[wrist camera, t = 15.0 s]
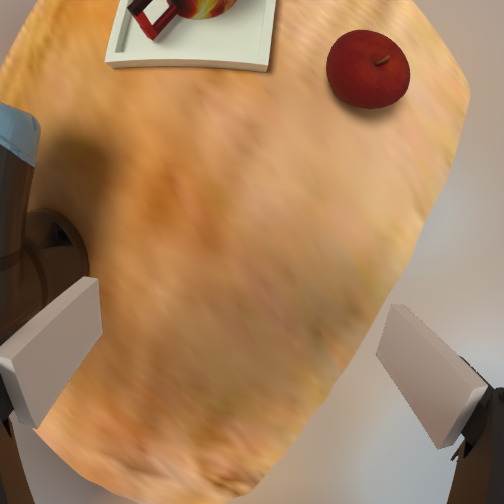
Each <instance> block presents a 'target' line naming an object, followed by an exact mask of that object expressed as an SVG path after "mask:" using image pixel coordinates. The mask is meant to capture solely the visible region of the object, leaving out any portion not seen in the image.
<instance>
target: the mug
mask: <svg viewBox="0 0 504 504" xmlns="http://www.w3.org/2000/svg"><path fill="white" fill-rule="evenodd" d="M152 1H153V0H134V1H133V2H132V3H131V4H130V5H129V6H128V7H127V9H128V10H129V12H130V13H131V14H132V16H133V17H134V18H135V20H136V21H137V23H138V24H139V25H140V26H139V27H140V28H141V29H142V31H143V32H144V33H145V35H146V36H147V38H149V39H151V40H152V41H153V40H154V39H155V38H156V37H157V36H158V35H159V34H160V32H161V31H162V30H163V29H164V28H165V27H166V26H167V25H168V24H169V22H170V21H171V20H172V19H173V18H174V17H175V16H176V15H179V16H181V17H184V18H187V19H193V20H201V19H209V18H212V17H216V16H218V15H220V14H223V13H224V12H226V11H227V10H229V9H230V8H231V7H232V6H233V5H234V4H235V2H236V1H237V0H166V1H167V3H168V5H169V7H168V8H167V10H166V11H165V12H164V13H163V14H162V15H161V16H160V17H159V18H158V19H157V20H156V21H155V22H154V24H153V25H152V24H151V23H150V21H149V19H148V18H147V16H146V15H145V13H144V12H143V10H144V9H145V8H146V7H147V6H148V5H149V4H150V3H151V2H152Z"/></svg>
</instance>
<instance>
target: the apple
mask: <svg viewBox="0 0 504 504" xmlns="http://www.w3.org/2000/svg"><path fill="white" fill-rule="evenodd" d="M326 72H327V77H328V81H329V83H330V85H331V87H332V89H333V90H334V92H335V93H336V94H337V95H338V96H339V97H340V98H341V99H342V100H344V101H345V102H346V103H348V104H350V105H353V106H355V107H359V108H365V109H375V108H382V107H385V106H388V105H391V104H393V103H395V102H397V101H398V100H399V99H400V98H401V97H402V96H403V95H404V94H405V93H406V91H407V89H408V86H409V82H410V68H409V64H408V61H407V59H406V57H405V55H404V53H403V52H402V50H401V49H400V48H399V47H398V45H397V44H396V43H394V42H393V41H392V40H391V39H389V38H388V37H386V36H384V35H382V34H380V33H377V32H373V31H369V30H354V31H351V32H348V33H346V34H344V35H343V36H341V37H340V38H338V39H337V41H336V42H335V43H334V45H333V46H332V47H331V49H330V52H329V55H328V57H327V63H326Z"/></svg>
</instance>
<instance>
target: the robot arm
mask: <svg viewBox="0 0 504 504" xmlns="http://www.w3.org/2000/svg"><path fill="white" fill-rule="evenodd" d="M40 133H41V130H40V125H39V122H38V121H37V119H36V118H35V117H34V116H32V115H31V114H29V113H27V112H24V111H22V110H20V109H17V108H14V107H12V106H9V105H6V104H3V103H0V504H35V503H34V501H33V497H32V495H31V492H30V489H29V486H28V483H27V480H26V477H25V474H24V470H23V467H22V463H21V460H20V456H19V452H18V448H17V444H16V440H15V436H14V431H13V426H12V423H11V420H10V418H9V415H10V414H11V412H12V411H13V410H14V411H15V413H16V416H17V418H18V420H19V422H21V423H23V424H25V425H28V426H30V427H32V428H35V429H38V427H39V426H40V424H41V422H42V421H43V419H44V418H45V416H46V415H47V413H48V412H49V410H50V409H51V407H52V405H53V404H54V402H55V401H56V399H57V398H58V396H59V395H60V393H61V392H62V391H63V389H64V388H65V386H66V385H67V383H68V382H69V380H70V379H71V377H72V376H73V374H74V373H75V372H76V370H77V369H78V367H79V366H80V364H81V363H82V362H83V360H84V359H85V357H86V356H87V355H88V353H89V352H90V350H91V349H92V348H93V346H94V345H95V344H96V342H97V341H98V339H99V338H100V337H101V335H102V334H103V330H102V320H101V309H100V297H99V281H98V278H91V277H88V271H89V266H88V257H87V253H86V249H85V246H84V243H83V241H82V239H81V237H80V235H79V233H78V231H77V230H76V229H75V227H74V226H73V225H72V224H71V222H70V221H69V220H67V219H66V218H65V217H64V216H62V215H61V214H59V213H57V212H55V211H52V210H48V209H38V210H34V211H30V212H27V208H28V201H29V194H30V189H31V183H32V178H33V173H34V168H36V166H37V163H36V155H37V149H38V144H39V139H40ZM376 356H377V357H378V359H379V360H380V362H381V363H382V365H383V366H384V368H385V369H386V370H387V372H388V373H389V375H390V377H391V378H392V379H393V381H394V382H395V384H396V386H397V387H398V389H399V390H400V391H401V393H402V395H403V396H404V398H405V399H406V401H407V402H408V404H409V405H410V407H411V408H412V410H413V411H414V413H415V415H416V416H417V418H418V419H419V421H420V422H421V424H422V425H423V427H424V428H425V430H426V432H427V433H428V435H429V437H430V438H431V440H432V441H433V443H434V445H435V446H436V448H437V449H441V448H445V447H448V446H451V445H453V444H454V443H455V441H456V440H457V438H458V436H459V435H460V434H462V435H463V436H464V437H465V439H464V441H463V442H462V444H461V445H460V446H459V448H458V450H457V451H456V452H455V454H454V455H453V456H452V458H451V460H452V461H453V460H454V459H455V457H456V456H458V455H459V456H458V460H457V465H456V470H455V474H454V479H453V483H452V487H451V490H450V494H449V498H448V501H447V504H504V388H502V387H501V388H496V389H494V388H493V387H492V386H491V385H490V384H489V383H488V382H486V380H485V379H484V378H483V377H482V376H481V375H480V374H479V373H478V372H476V370H475V369H474V368H473V367H470V364H469V363H468V362H467V361H466V360H465V359H464V358H462V357H460V356H459V355H457V354H456V353H455V352H454V351H453V350H452V349H451V348H450V347H449V346H448V345H447V344H446V343H445V342H444V341H443V340H442V339H441V338H440V337H438V335H437V334H435V333H434V332H433V331H432V330H431V329H430V328H429V327H428V326H427V325H426V324H425V323H424V322H423V321H422V320H420V319H419V318H418V317H417V316H416V315H415V314H414V313H413V312H412V311H410V309H408V308H407V307H406V306H405V305H395V304H391V307H390V310H389V314H388V317H387V321H386V324H385V327H384V331H383V334H382V337H381V340H380V343H379V347H378V350H377V353H376Z"/></svg>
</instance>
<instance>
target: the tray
mask: <svg viewBox="0 0 504 504" xmlns="http://www.w3.org/2000/svg"><path fill="white" fill-rule="evenodd" d="M133 1H134V0H120V3H119V7H118V10H117V13H116V17H115V20H114V24H113V28H112V32H111V36H110V40H109V44H108V48H107V52H106V57H105V63H106V64H107V65H109V66H110V67H111V68H113V69H114V68H129V67H160V66H178V67H209V68H225V69H237V70H247V71H257V72H265V73H266V70H267V67H268V61H269V53H270V45H271V36H272V28H273V20H274V11H275V3H276V0H237V1H236V2H235V4H234V5H233V6H232V7H231V8H230V9H229V10H227V11H226V12H224V13H223V14H220V15H218V16H216V17H212V18H209V19H201V20H193V19H187V18H184V17H181V16H179V15H176V16H175V17H174V18H173V19H172V20H171V21H170V22H169V24H168V25H167V26H166V27H165V28H164V29H163V30H162V31H161V32H160V34H159V35H158V36H157V37H156V38H155V39H154V40H153V41H152V40H151V39H149V38H147V36H146V35H145V33H144V32H143V31H142V29H141V28H140V27H139V26H140V25H139V24H138V23H137V21H136V20H135V18H134V17H133V16H132V14H131V13H130V12H129V10H128V9H127V7H128V6H129V5H130V4H131V3H132V2H133ZM168 7H169V5H168V3H167V1H166V0H153V1H152V2H151V3H150V4H149V5H148V6H147V7H146V8H145V9H144V10H143V12H144V13H145V15H146V16H147V18H148V19H149V21H150V23H151V24H152V25H153V24H154V22H155V21H156V20H157V19H158V18H159V17H160V16H161V15H162V14H163V13H164V12H165V11H166V10H167V8H168Z"/></svg>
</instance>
